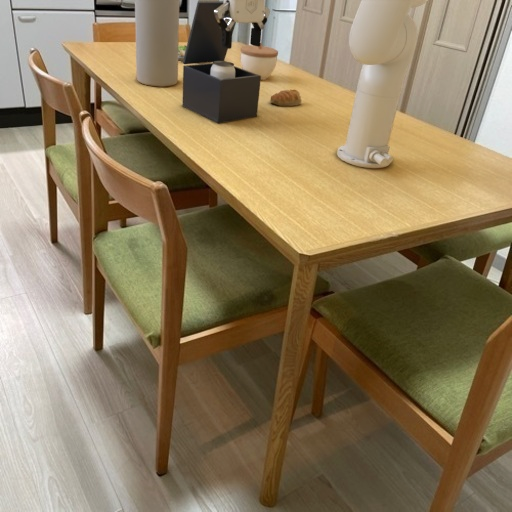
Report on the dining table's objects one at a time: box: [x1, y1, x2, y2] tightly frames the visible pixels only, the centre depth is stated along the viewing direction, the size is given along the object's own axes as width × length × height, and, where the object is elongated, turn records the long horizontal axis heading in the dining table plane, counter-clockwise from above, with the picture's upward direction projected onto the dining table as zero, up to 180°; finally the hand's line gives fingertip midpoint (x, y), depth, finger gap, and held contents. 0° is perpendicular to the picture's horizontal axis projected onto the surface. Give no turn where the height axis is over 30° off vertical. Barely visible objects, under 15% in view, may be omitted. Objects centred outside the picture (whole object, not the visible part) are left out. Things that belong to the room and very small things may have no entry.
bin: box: [181, 62, 262, 124], centre depth 138 cm, size 16×14×11 cm
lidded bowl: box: [239, 42, 279, 81], centre depth 175 cm, size 13×13×11 cm
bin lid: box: [182, 0, 237, 65], centre depth 135 cm, size 16×14×5 cm
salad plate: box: [178, 45, 187, 62], centre depth 191 cm, size 19×18×5 cm
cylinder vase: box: [134, 0, 180, 88], centre depth 154 cm, size 12×12×25 cm
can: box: [210, 60, 235, 79], centre depth 137 cm, size 6×6×12 cm
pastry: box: [269, 89, 302, 107], centre depth 153 cm, size 9×7×4 cm
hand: (241, 46), depth 130 cm, fingers open, 9 cm apart
